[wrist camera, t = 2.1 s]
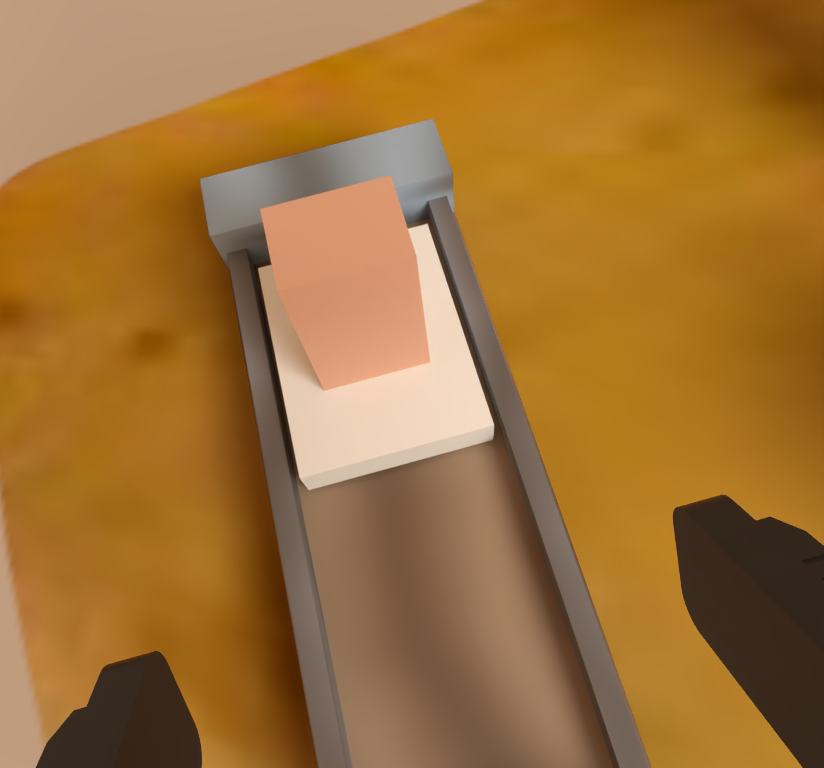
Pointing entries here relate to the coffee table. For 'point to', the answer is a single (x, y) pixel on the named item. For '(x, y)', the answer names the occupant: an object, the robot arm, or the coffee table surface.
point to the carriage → (365, 336)
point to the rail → (424, 531)
